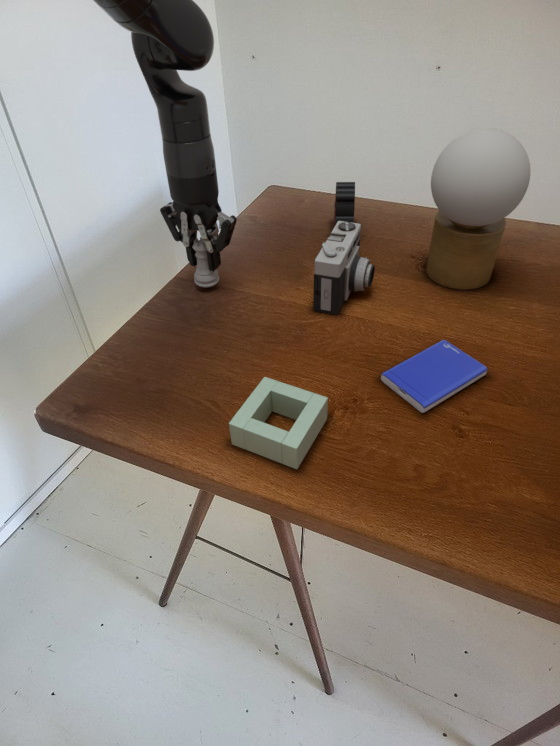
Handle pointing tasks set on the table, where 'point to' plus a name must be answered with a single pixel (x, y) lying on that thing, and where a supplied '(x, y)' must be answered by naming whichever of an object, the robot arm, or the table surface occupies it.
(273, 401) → the socket
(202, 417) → the table surface
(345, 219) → the extruded letter emblem
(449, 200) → the lamp
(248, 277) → the table surface
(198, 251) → the rook chess piece
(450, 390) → the hard drive
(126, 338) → the table surface
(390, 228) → the table surface
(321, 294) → the camera
